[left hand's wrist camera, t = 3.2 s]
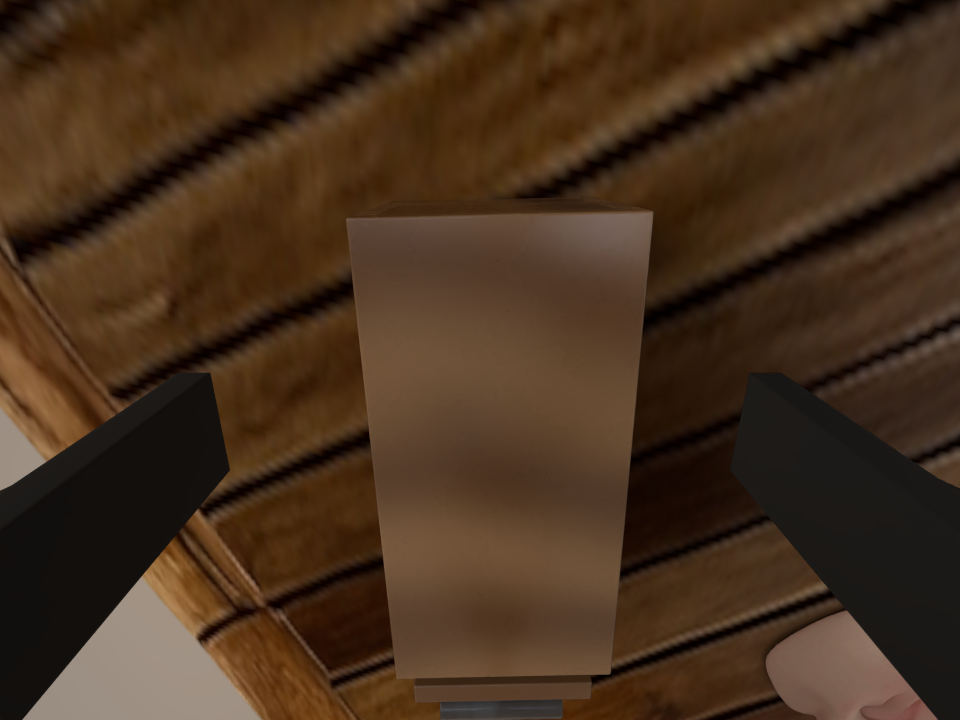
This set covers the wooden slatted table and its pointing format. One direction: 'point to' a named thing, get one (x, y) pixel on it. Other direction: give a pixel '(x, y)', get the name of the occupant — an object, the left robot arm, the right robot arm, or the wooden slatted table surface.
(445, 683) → the drawer
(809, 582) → the wooden slatted table surface
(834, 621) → the anatomical model
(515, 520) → the cabinet
